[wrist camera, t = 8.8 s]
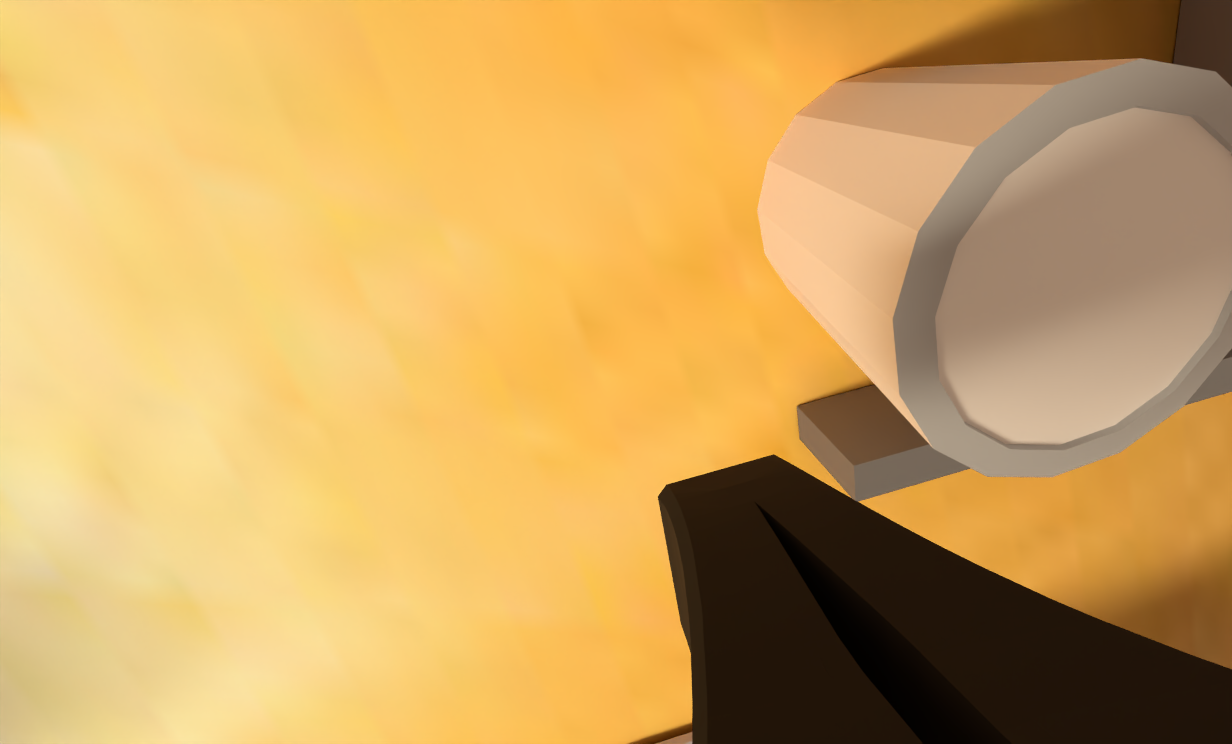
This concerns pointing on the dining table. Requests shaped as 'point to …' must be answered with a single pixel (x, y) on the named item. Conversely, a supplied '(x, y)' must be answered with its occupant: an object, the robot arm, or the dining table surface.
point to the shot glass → (1015, 247)
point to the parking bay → (876, 430)
